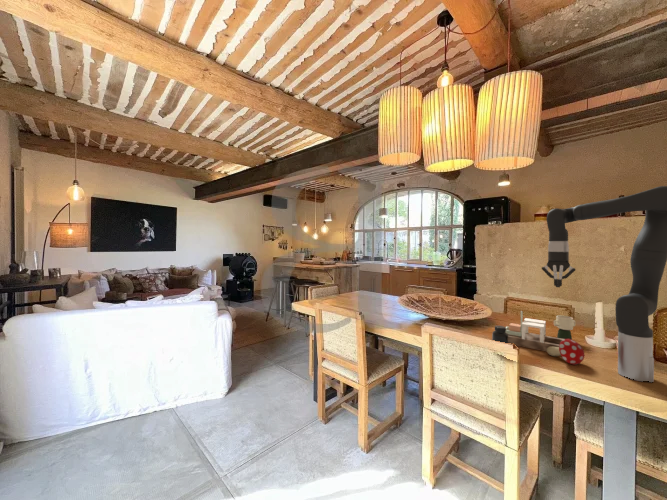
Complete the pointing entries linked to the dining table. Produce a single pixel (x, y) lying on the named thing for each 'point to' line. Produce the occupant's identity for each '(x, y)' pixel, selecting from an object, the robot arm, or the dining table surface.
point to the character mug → (564, 326)
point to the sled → (515, 331)
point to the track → (534, 341)
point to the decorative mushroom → (568, 351)
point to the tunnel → (535, 324)
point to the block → (515, 327)
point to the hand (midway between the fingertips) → (558, 287)
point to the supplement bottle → (500, 334)
